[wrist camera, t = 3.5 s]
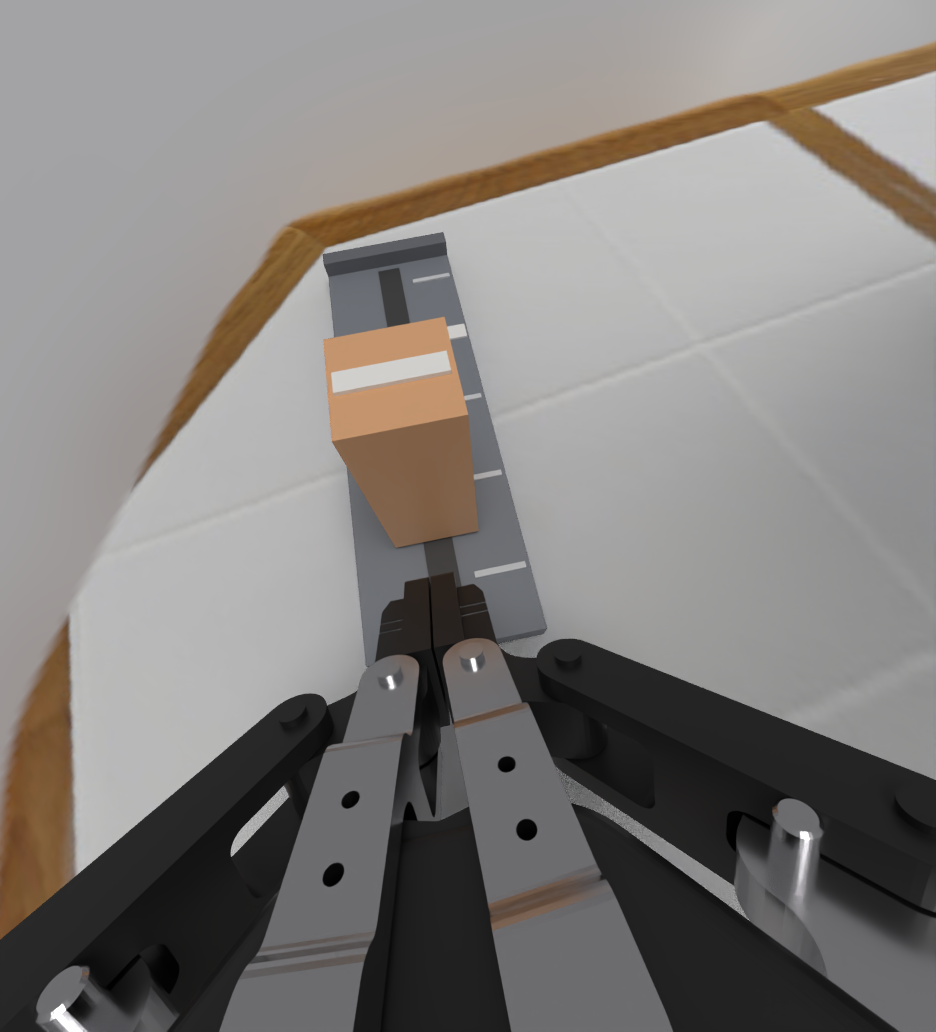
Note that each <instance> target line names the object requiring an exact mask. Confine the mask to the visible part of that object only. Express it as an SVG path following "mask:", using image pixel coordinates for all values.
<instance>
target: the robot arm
mask: <svg viewBox="0 0 936 1032" xmlns="http://www.w3.org/2000/svg"><path fill="white" fill-rule="evenodd" d="M430 582H431V583H430ZM379 634H380V635H379V637H378V644H377V651H376V658H375V663H374V664H372V665H371V666H370V667H369V668H368V669H367V670H366V671H365V672H364V674H363V675H362V677H361V680H360V683H359V687H358V690H357V691H356V692H355V693H353V694H351V695H349V696H347V697H345V698H343V699H341V700H339V701H337V702H335V703H332V704H330V705H328V706H327V704H326V701H325V699H324V698H323V697H321V696H320V695H317V694H302V695H298V696H295V697H293V698H290V699H288V700H286V701H284V702H283V703H281V704H280V705H278V706H277V707H276V708H275V709H273V710H272V711H271V712H270V713H269V714H267V715H266V716H265V717H264V718H263V719H261V720H260V721H259V722H258V723H257V724H256V725H254V726H253V727H252V728H251V729H250V730H248V731H247V732H246V733H245V734H244V735H243V736H241V737H240V738H239V739H238V740H237V741H235V742H234V743H233V744H232V745H231V746H229V747H228V748H227V749H226V750H225V751H224V752H222V753H221V754H220V755H219V756H218V757H216V758H215V759H214V760H213V761H212V762H211V763H209V764H208V765H207V766H206V767H205V768H203V769H202V770H201V771H200V772H199V773H197V774H196V775H195V776H194V777H193V778H192V779H190V780H189V781H188V782H187V783H186V784H184V785H183V786H182V787H181V788H180V789H179V790H177V791H176V792H175V793H174V794H173V795H171V796H170V797H169V798H168V799H167V800H165V801H164V802H163V803H162V804H161V805H160V806H158V807H157V808H156V809H155V810H154V811H152V812H151V813H150V814H149V815H148V816H147V817H145V818H144V819H143V820H142V821H141V822H139V823H138V824H137V825H136V826H135V827H133V828H132V829H131V830H130V831H129V832H128V833H126V834H125V835H124V836H123V837H122V838H120V839H119V840H118V841H117V842H116V843H115V844H113V845H112V846H111V847H110V848H109V849H107V850H106V851H105V852H104V853H103V854H101V855H100V856H99V857H98V858H97V859H96V860H94V861H93V862H92V863H91V864H90V865H88V866H87V867H86V868H85V869H84V870H83V871H81V872H80V873H79V874H78V875H77V876H75V877H74V878H73V879H72V880H71V881H69V882H68V883H67V884H66V885H65V886H64V887H62V888H61V889H60V890H59V891H58V892H56V893H55V894H54V895H53V896H52V897H50V898H49V899H48V900H47V901H46V902H45V903H43V904H42V905H41V906H40V907H39V908H37V909H36V910H35V911H34V912H33V913H32V914H30V915H29V916H28V917H27V918H26V919H24V920H23V921H22V922H21V923H20V924H18V925H17V926H16V927H15V928H14V929H13V930H11V931H10V932H9V933H8V934H7V935H5V936H4V937H3V938H2V939H1V940H0V1032H936V780H934V779H931V778H929V777H927V776H924V775H922V774H919V773H917V772H914V771H912V770H909V769H907V768H904V767H901V766H899V765H896V764H894V763H891V762H889V761H886V760H884V759H881V758H879V757H876V756H874V755H871V754H869V753H866V752H863V751H861V750H858V749H856V748H853V747H851V746H848V745H846V744H843V743H841V742H838V741H836V740H833V739H831V738H828V737H825V736H823V735H820V734H818V733H815V732H813V731H810V730H808V729H805V728H803V727H800V726H798V725H795V724H793V723H790V722H788V721H785V720H782V719H780V718H777V717H775V716H772V715H770V714H767V713H765V712H762V711H760V710H757V709H755V708H752V707H750V706H747V705H744V704H742V703H739V702H737V701H734V700H732V699H729V698H727V697H724V696H722V695H719V694H717V693H714V692H712V691H709V690H706V689H704V688H701V687H699V686H696V685H694V684H691V683H689V682H686V681H684V680H681V679H679V678H676V677H674V676H671V675H669V674H666V673H663V672H661V671H658V670H656V669H653V668H651V667H648V666H646V665H643V664H641V663H638V662H636V661H633V660H631V659H628V658H625V657H623V656H620V655H618V654H615V653H613V652H610V651H608V650H605V649H603V648H600V647H598V646H595V645H593V644H590V643H587V642H585V641H582V640H577V639H560V640H556V641H553V642H550V643H548V644H547V645H545V646H544V647H543V648H542V649H541V650H540V651H539V653H538V655H537V658H523V657H516V656H513V655H510V654H508V653H506V652H504V651H503V650H502V649H501V648H500V647H499V646H498V644H497V641H496V637H495V634H494V630H493V626H492V623H491V619H490V615H489V612H488V608H487V604H486V601H485V597H484V593H483V591H482V590H481V589H480V588H479V587H477V586H476V585H475V584H470V585H465V586H460V587H457V585H456V580H455V575H454V572H449V573H444V574H439V575H435V576H430V579H429V577H425V578H421V579H416V580H411V581H406V582H405V585H404V599H399V600H394V601H390V602H389V604H388V605H387V606H386V608H385V609H384V610H383V612H382V616H381V625H380V630H379ZM449 711H450V715H451V719H452V723H453V724H454V730H455V735H456V740H457V745H458V751H459V756H460V761H461V766H462V771H463V776H464V782H465V787H466V792H467V797H468V802H469V807H467V808H465V809H463V810H461V811H459V812H457V813H455V814H454V815H452V816H450V817H448V818H446V819H443V820H441V795H442V759H443V756H442V750H441V747H440V742H441V734H440V727H443V726H448V725H450V716H449ZM554 764H555V765H556V767H557V768H558V769H559V770H561V771H562V772H563V773H565V774H566V775H568V776H569V777H571V778H572V779H574V780H575V781H577V782H578V783H580V784H581V785H583V786H585V787H586V788H588V789H589V790H591V791H592V792H594V793H595V794H597V795H598V796H600V797H601V798H603V799H604V800H606V801H607V802H609V803H610V804H612V805H613V806H615V807H616V808H618V809H619V810H621V811H622V812H624V813H625V814H627V815H628V816H630V817H631V818H633V819H634V820H636V821H637V822H639V823H640V824H642V825H643V826H645V827H646V828H648V829H649V830H651V831H652V832H654V833H655V834H657V835H658V836H660V837H661V838H663V839H664V840H666V841H667V842H669V843H670V844H672V845H673V846H675V847H677V848H678V849H680V850H681V851H683V852H684V853H686V854H687V855H689V856H690V857H692V858H693V859H695V860H696V861H698V862H699V863H701V864H702V865H704V866H705V867H707V868H708V869H710V870H711V871H713V872H714V873H716V874H717V875H719V876H720V877H722V878H723V879H725V880H726V881H728V882H729V883H731V884H732V885H734V887H735V892H736V895H737V899H738V901H739V903H740V905H741V908H742V909H743V911H744V913H745V914H746V916H747V917H748V919H749V920H750V921H751V922H750V921H749V920H747V919H746V918H745V917H743V916H742V915H741V914H739V913H738V912H737V911H735V910H734V909H732V908H731V907H730V906H728V905H727V904H726V903H724V902H723V901H722V900H720V899H719V898H718V897H716V896H715V895H713V894H712V893H711V892H709V891H708V890H707V889H705V888H704V887H703V886H701V885H700V884H699V883H697V882H696V881H694V880H693V879H692V878H690V877H689V876H688V875H686V874H685V873H684V872H682V871H681V870H680V869H678V868H677V867H675V866H674V865H673V864H671V863H670V862H669V861H667V860H666V859H665V858H663V857H662V856H660V855H659V854H658V853H656V852H655V851H654V850H652V849H651V848H650V847H648V846H647V845H646V844H644V843H643V842H641V841H640V840H639V839H637V838H636V837H635V836H633V835H632V834H631V833H629V832H628V831H627V830H625V829H624V828H622V827H621V826H620V825H618V824H617V823H615V822H614V821H612V820H610V819H609V818H607V817H605V816H603V815H602V814H600V813H598V812H595V811H593V810H591V809H588V808H586V807H583V806H579V805H576V804H572V803H570V800H569V798H568V796H567V793H566V791H565V789H564V786H563V784H562V782H561V779H560V777H559V774H558V772H557V770H556V767H555V765H554ZM283 786H285V788H286V790H287V793H288V795H289V798H288V799H287V800H286V801H285V802H284V803H283V804H282V805H281V806H280V807H279V808H278V809H277V810H276V811H275V812H274V813H273V815H272V816H271V817H270V818H269V819H268V820H267V821H266V822H265V823H264V824H263V825H262V826H261V827H260V828H259V829H258V830H257V831H256V832H255V833H254V835H253V836H252V837H251V838H250V839H249V840H248V841H247V842H246V843H245V844H244V845H243V846H242V847H241V848H240V849H239V850H238V851H237V852H236V853H235V854H234V855H233V856H232V857H231V854H230V853H231V846H232V843H233V841H234V839H235V837H236V835H237V834H238V832H239V831H240V830H241V828H242V827H243V826H244V825H245V824H246V823H247V822H248V821H249V820H250V819H251V818H252V817H253V816H254V815H255V814H256V813H257V812H258V811H259V810H260V809H261V808H262V807H263V806H264V805H265V804H266V803H267V802H268V801H269V800H270V799H271V798H272V797H273V796H274V795H275V794H276V793H277V792H278V791H279V790H280V789H281V788H282V787H283Z"/></svg>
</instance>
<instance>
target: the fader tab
mask: <svg viewBox="0 0 936 1032" xmlns="http://www.w3.org/2000/svg"><path fill="white" fill-rule="evenodd" d="M323 341H324V353H325V365H326V378H327V390H328V402H329V414H330V426H331V438H332V443H333V444H334V446H335V448H336V449H337V451H338V453H339V454H340V456H341V458H342V459H343V461H344V463H345V464H346V466H347V468H348V469H349V471H350V473H351V474H352V476H353V478H354V479H355V481H356V483H357V484H358V486H359V488H360V489H361V491H362V493H363V494H364V496H365V497H366V499H367V501H368V502H369V504H370V506H371V507H372V509H373V511H374V512H375V514H376V516H377V517H378V519H379V521H380V522H381V524H382V526H383V527H384V529H385V531H386V532H387V534H388V536H389V537H390V539H391V541H392V542H393V544H394V546H395V547H396V548H398V547H403V546H407V545H412V544H417V543H422V542H427V541H432V540H437V539H442V538H447V537H451V536H456V535H461V534H466V533H471V532H476V531H479V529H478V518H477V507H476V496H475V485H474V473H473V462H472V451H471V440H470V429H469V418H468V411H467V407H466V403H465V399H464V395H463V391H462V387H461V383H460V379H459V374H458V370H457V366H456V362H455V358H454V354H453V350H452V346H451V341H450V337H449V333H448V329H447V325H446V321H445V317H440V318H435V319H430V320H425V321H419V322H414V323H409V324H403V325H398V326H393V327H388V328H382V329H377V330H372V331H367V332H361V333H356V334H351V335H345V336H340V337H335V338H330V339H324V340H323Z"/></svg>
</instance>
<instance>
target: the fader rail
mask: <svg viewBox="0 0 936 1032" xmlns="http://www.w3.org/2000/svg"><path fill="white" fill-rule="evenodd" d="M323 261H324V266H325V269H326V272H327V274H328V277H329V287H330V297H331V307H332V318H333V328H334V338H335V337H340V336H345V335H351V334H356V333H361V332H367V331H372V330H377V329H382V328H388V327H393V326H398V325H403V324H409V323H414V322H419V321H425V320H430V319H435V318H440V317H445V321H446V325H447V329H448V333H449V337H450V341H451V346H452V350H453V354H454V358H455V362H456V366H457V370H458V374H459V379H460V383H461V387H462V391H463V395H464V399H465V403H466V407H467V411H468V418H469V429H470V440H471V451H472V462H473V473H474V485H475V496H476V507H477V518H478V529H479V531H476V532H471V533H466V534H461V535H456V536H451V537H447V538H442V539H437V540H432V541H427V542H422V543H417V544H412V545H407V546H403V547H398V548H396V547H395V546H394V544H393V542H392V541H391V539H390V537H389V536H388V534H387V532H386V531H385V529H384V527H383V526H382V524H381V522H380V521H379V519H378V517H377V516H376V514H375V512H374V511H373V509H372V507H371V506H370V504H369V502H368V501H367V499H366V497H365V496H364V494H363V493H362V491H361V489H360V488H359V486H358V484H357V483H356V481H355V479H354V478H353V476H352V474H351V473H350V471H349V469H348V468H347V473H348V483H349V494H350V504H351V514H352V525H353V535H354V545H355V556H356V566H357V576H358V587H359V597H360V607H361V618H362V628H363V638H364V649H365V659H366V666H367V667H370V666H371V665H372V664H374V663H375V658H376V651H377V644H378V637H379V635H380V634H379V630H380V625H381V616H382V612H383V610H384V609H385V608H386V606H387V605H388V604H389V602H390V601H394V600H399V599H404V585H405V582H406V581H411V580H416V579H421V578H425V577H429V579H430V576H435V575H439V574H444V573H449V572H454V575H455V580H456V585H457V587H460V586H465V585H470V584H475V585H476V586H477V587H479V588H480V589H481V590H482V591H483V593H484V597H485V601H486V604H487V608H488V612H489V615H490V619H491V623H492V626H493V630H494V634H495V637H496V641H497V643H502V642H507V641H511V640H516V639H521V638H525V637H530V636H535V635H540V634H544V632H545V630H546V629H547V626H546V623H545V619H544V615H543V611H542V608H541V604H540V600H539V597H538V593H537V589H536V585H535V582H534V578H533V574H532V570H531V567H530V563H529V559H528V555H527V552H526V548H525V544H524V540H523V537H522V533H521V529H520V525H519V522H518V518H517V514H516V511H515V507H514V503H513V499H512V496H511V492H510V488H509V484H508V481H507V477H506V473H505V469H504V466H503V462H502V458H501V454H500V451H499V447H498V443H497V439H496V436H495V432H494V428H493V425H492V421H491V417H490V413H489V410H488V406H487V402H486V398H485V395H484V391H483V387H482V383H481V380H480V376H479V372H478V368H477V365H476V361H475V357H474V353H473V350H472V346H471V342H470V339H469V335H468V331H467V327H466V324H465V320H464V316H463V312H462V309H461V305H460V301H459V297H458V294H457V290H456V286H455V282H454V279H453V275H452V271H451V267H450V264H449V260H448V256H447V249H446V241H445V237H444V233H443V232H441V233H436V234H430V235H425V236H420V237H414V238H409V239H403V240H398V241H392V242H387V243H382V244H376V245H371V246H365V247H360V248H354V249H349V250H343V251H338V252H333V253H327V254H323ZM430 583H431V582H430Z"/></svg>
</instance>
